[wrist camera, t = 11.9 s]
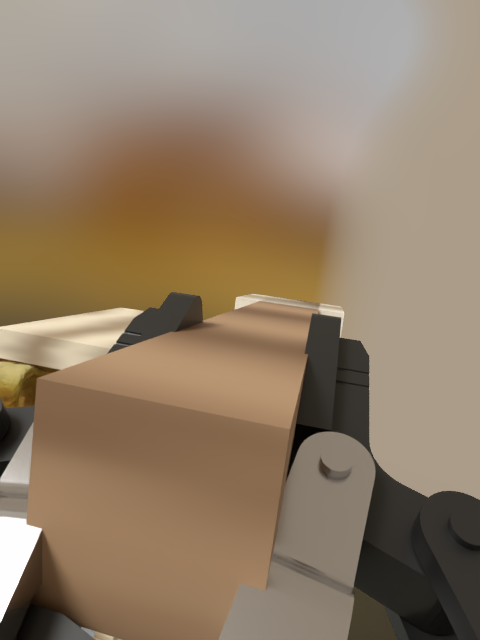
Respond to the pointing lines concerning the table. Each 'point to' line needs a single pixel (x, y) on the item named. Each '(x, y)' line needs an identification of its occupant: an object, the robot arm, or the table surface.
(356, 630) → the table surface
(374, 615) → the table surface
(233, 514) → the peg
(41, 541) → the robot arm
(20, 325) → the square pedestal column
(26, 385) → the pitcher
